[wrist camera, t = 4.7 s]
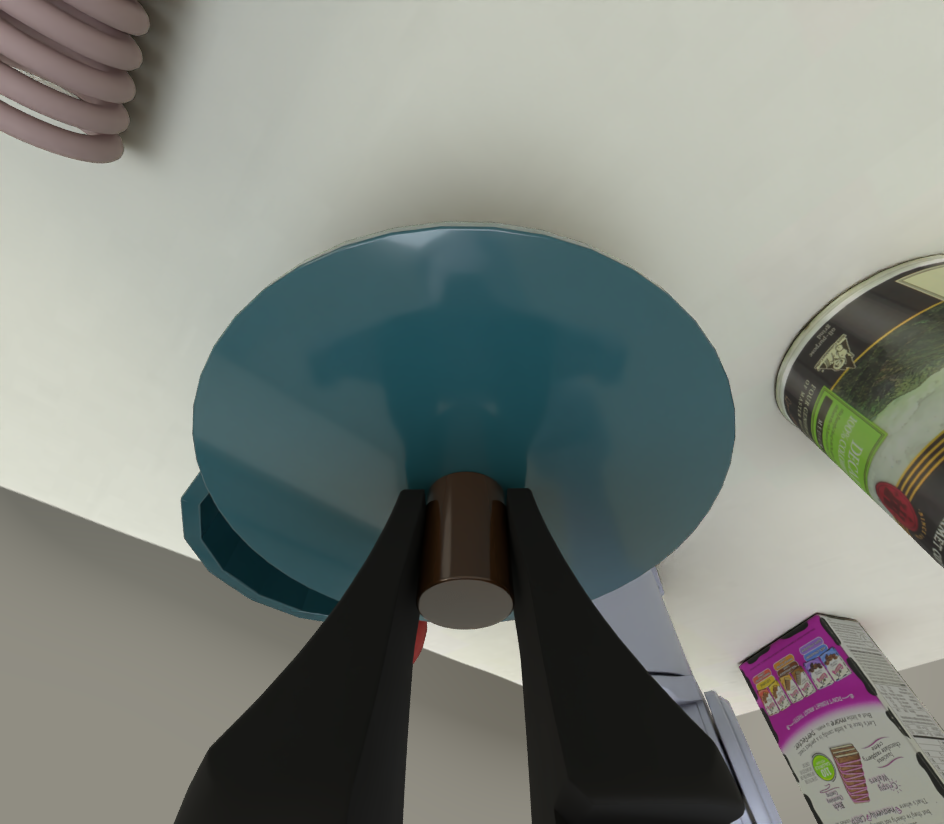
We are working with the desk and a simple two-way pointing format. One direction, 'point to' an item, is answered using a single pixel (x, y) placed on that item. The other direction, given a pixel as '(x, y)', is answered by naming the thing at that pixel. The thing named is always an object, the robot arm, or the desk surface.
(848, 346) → the coffee can
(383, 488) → the pot lid
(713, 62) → the desk surface
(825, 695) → the candy bar box
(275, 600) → the pot
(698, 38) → the desk surface
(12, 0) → the coil
